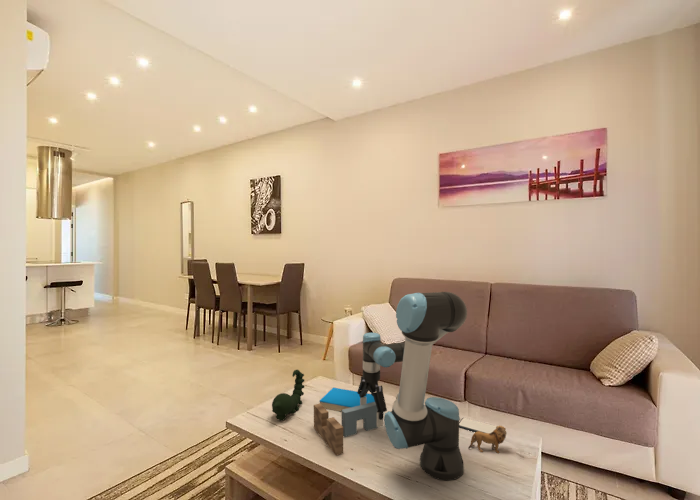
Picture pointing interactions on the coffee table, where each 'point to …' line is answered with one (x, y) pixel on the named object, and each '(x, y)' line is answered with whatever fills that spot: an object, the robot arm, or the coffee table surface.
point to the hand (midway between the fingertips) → (371, 418)
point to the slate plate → (359, 418)
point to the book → (343, 399)
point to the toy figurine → (289, 399)
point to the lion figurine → (489, 438)
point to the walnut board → (328, 429)
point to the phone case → (476, 426)
